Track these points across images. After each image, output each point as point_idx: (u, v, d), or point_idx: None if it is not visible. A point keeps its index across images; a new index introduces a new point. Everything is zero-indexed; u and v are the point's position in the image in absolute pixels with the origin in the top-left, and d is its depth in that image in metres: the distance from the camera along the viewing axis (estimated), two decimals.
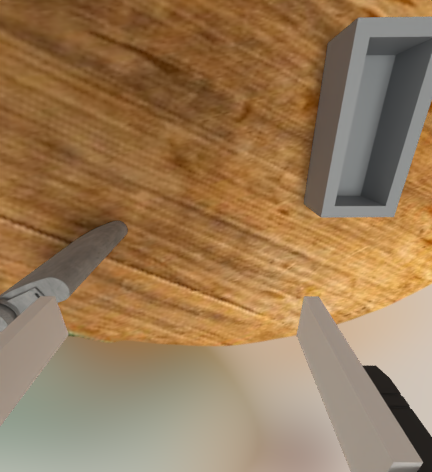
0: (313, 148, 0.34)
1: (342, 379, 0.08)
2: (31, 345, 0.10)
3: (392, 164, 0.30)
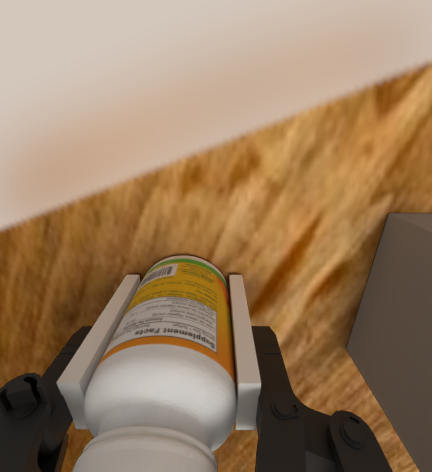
0: None
1: (233, 334, 0.10)
2: None
3: None
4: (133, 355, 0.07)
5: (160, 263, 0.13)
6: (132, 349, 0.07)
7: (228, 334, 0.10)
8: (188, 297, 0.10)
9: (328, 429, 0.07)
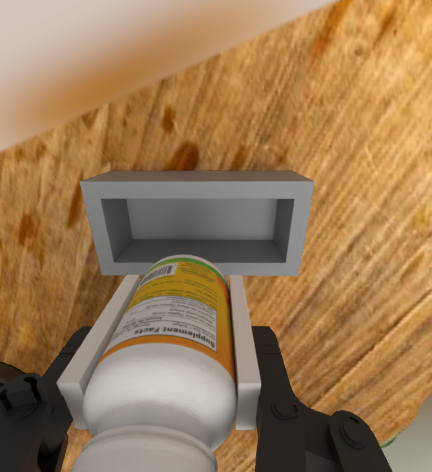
0: None
1: (233, 334, 0.10)
2: None
3: None
4: (133, 354, 0.07)
5: (160, 262, 0.13)
6: (132, 348, 0.07)
7: (228, 333, 0.10)
8: (188, 296, 0.10)
9: (328, 429, 0.07)
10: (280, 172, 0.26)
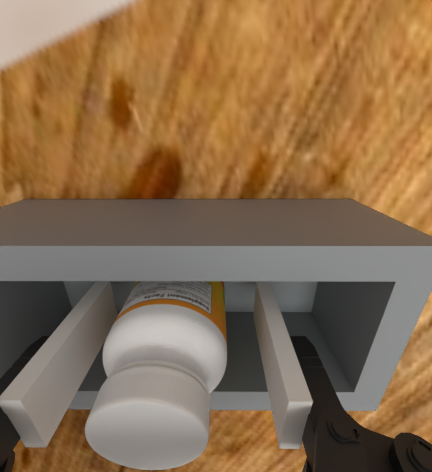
0: None
1: (271, 345, 0.09)
2: (96, 321, 0.12)
3: None
4: (143, 311, 0.09)
5: None
6: (142, 308, 0.09)
7: (221, 304, 0.12)
8: None
9: (392, 450, 0.06)
10: (335, 204, 0.14)
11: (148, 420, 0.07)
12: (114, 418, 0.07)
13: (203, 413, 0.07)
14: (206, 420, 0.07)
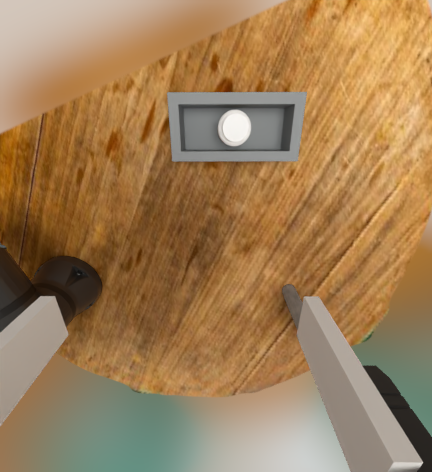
0: None
1: (342, 379, 0.08)
2: (31, 345, 0.10)
3: (259, 104, 0.37)
4: (230, 110, 0.36)
5: None
6: (230, 110, 0.36)
7: None
8: None
9: None
10: None
11: (237, 119, 0.34)
12: (230, 119, 0.33)
13: (248, 122, 0.34)
14: (248, 124, 0.34)
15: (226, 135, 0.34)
